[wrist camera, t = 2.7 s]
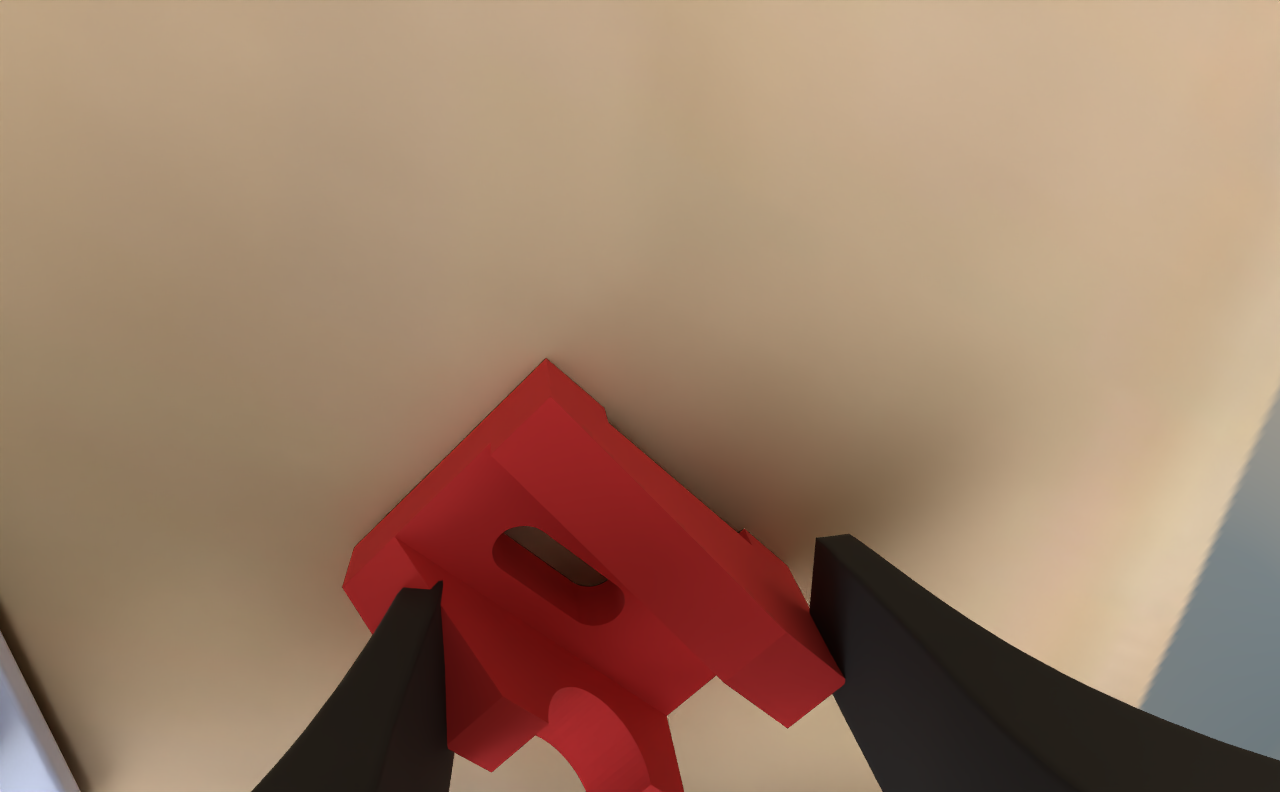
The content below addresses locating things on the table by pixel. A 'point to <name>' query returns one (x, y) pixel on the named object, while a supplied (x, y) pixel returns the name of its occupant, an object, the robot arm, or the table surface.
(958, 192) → the table surface
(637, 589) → the bracket
